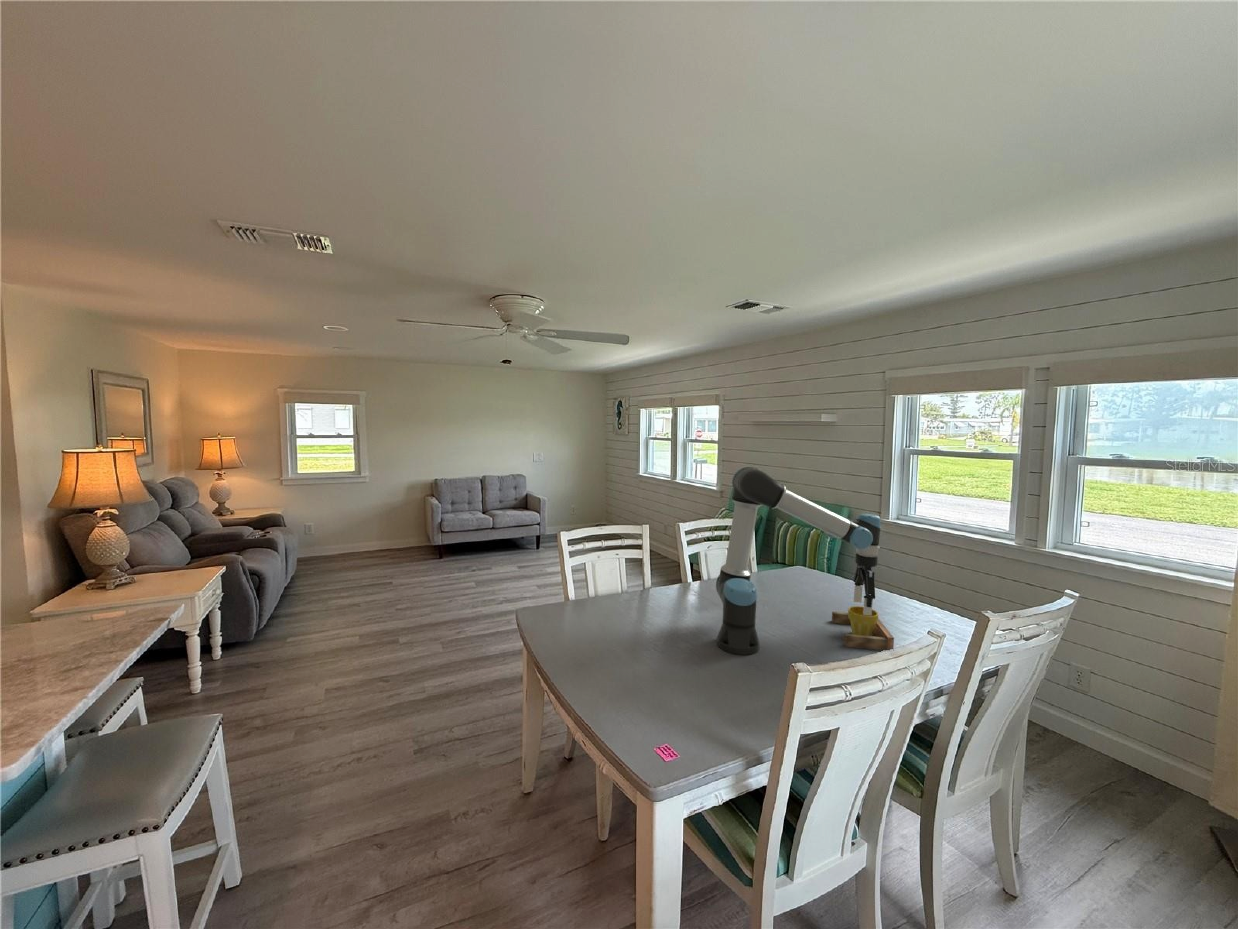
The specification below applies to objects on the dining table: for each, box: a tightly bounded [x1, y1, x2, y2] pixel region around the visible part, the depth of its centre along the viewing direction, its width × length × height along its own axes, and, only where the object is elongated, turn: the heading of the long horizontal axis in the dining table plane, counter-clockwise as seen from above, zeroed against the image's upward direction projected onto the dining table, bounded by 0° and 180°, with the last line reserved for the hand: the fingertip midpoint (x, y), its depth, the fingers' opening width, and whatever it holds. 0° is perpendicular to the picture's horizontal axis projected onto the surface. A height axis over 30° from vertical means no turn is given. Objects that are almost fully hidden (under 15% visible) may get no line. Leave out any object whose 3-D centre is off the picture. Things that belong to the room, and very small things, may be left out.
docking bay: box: [831, 611, 895, 651], centre depth 191 cm, size 16×24×5 cm, turn 168°
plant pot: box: [847, 605, 879, 636], centre depth 191 cm, size 10×10×10 cm
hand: (862, 608), depth 190 cm, fingers open, 13 cm apart
